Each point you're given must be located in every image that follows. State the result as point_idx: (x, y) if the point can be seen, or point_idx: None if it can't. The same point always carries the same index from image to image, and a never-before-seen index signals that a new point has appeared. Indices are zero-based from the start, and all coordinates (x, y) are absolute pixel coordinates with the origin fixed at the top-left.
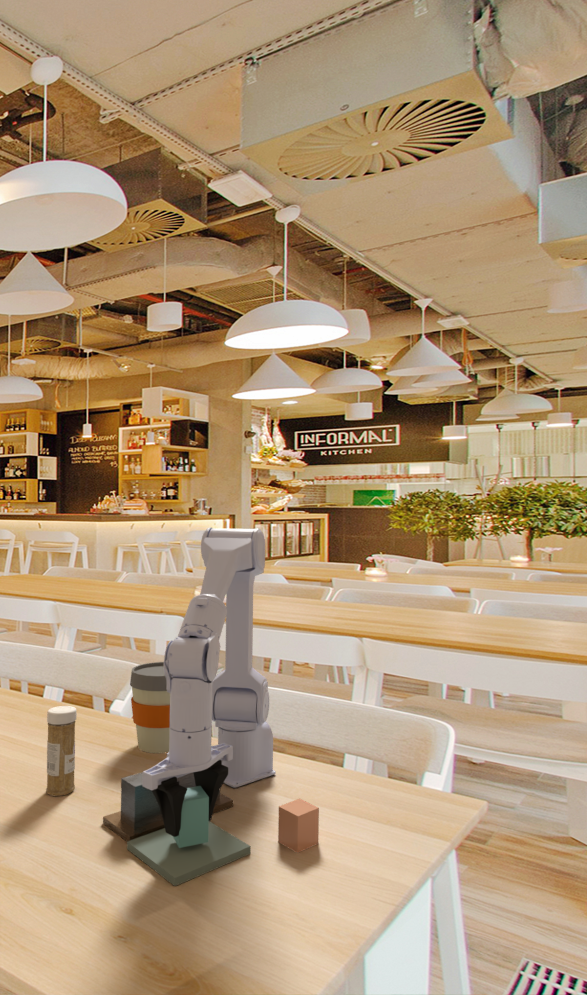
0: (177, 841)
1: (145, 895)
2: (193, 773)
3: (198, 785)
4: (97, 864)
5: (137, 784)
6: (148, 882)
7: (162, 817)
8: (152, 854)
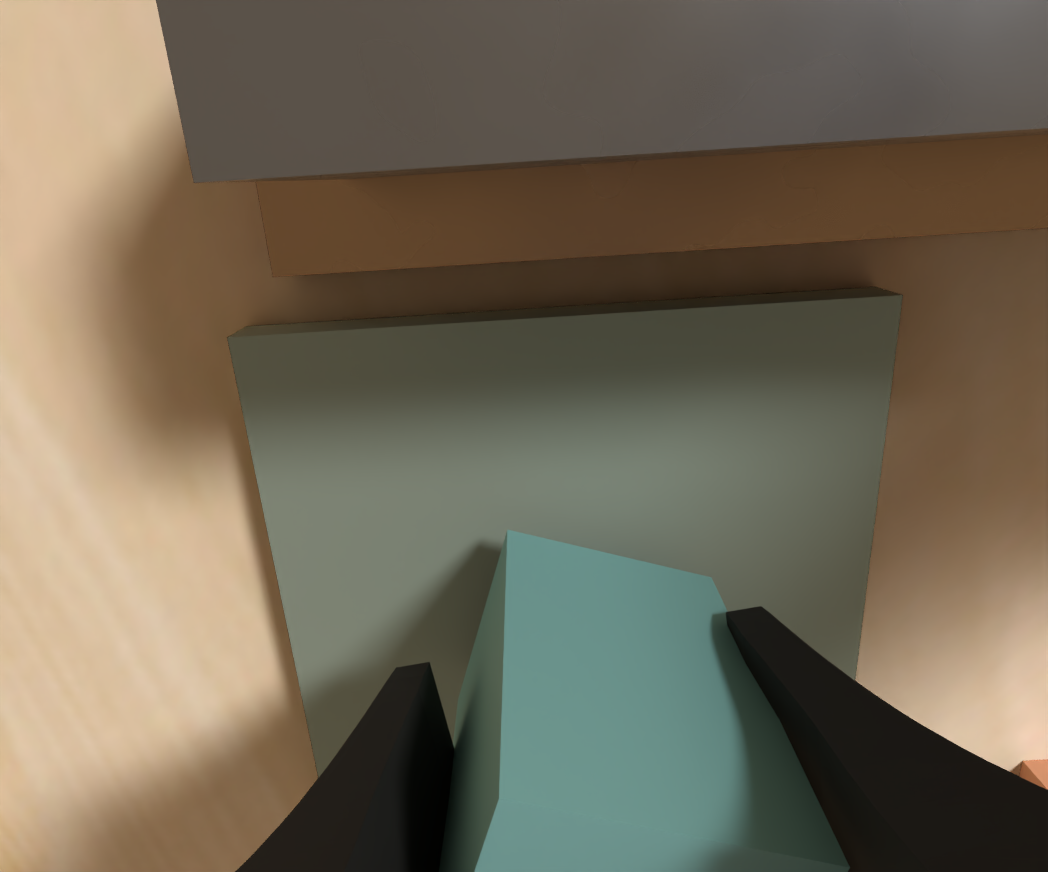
0: (466, 679)
1: (187, 788)
2: (923, 864)
3: (855, 816)
4: (14, 391)
5: (259, 112)
6: (238, 711)
7: (345, 741)
8: (320, 590)
